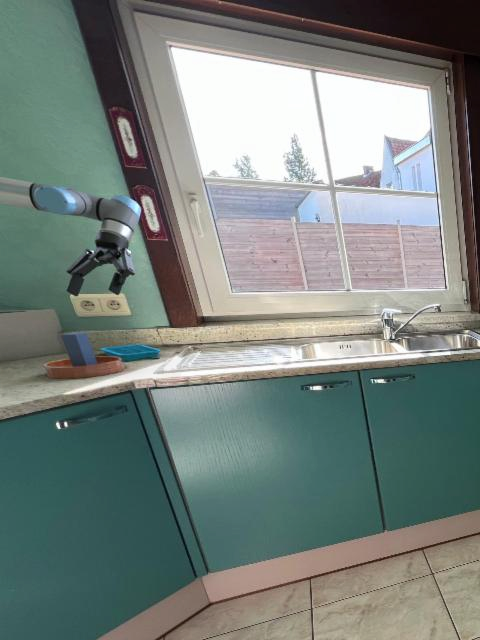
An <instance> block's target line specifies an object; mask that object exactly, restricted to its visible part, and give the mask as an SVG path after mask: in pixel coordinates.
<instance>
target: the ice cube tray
mask: <svg viewBox="0 0 480 640" xmlns="http://www.w3.org/2000/svg"><path fill="white" fill-rule="evenodd" d="M99 350H100V351H103V352H104V354H105V356H115V357H120V358H122V361H123V362H134V361H143V360H148V361H149V360H160V352H162V350H161V349H159V348H155V347H151V346H147V345H144V344H128V345H120V346H109V347H102V348H99Z"/></svg>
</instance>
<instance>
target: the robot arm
mask: <svg viewBox="0 0 480 640" xmlns="http://www.w3.org/2000/svg"><path fill="white" fill-rule="evenodd" d="M0 205H4V206H11V207H16V208H23V209H28V210H36V211H41V212H46V213H51V214H54V215H61V216H73V217H83V218H87V219H91V220H95V221H99V222H101V224H100V226H99V228H98V232H97V234H96V237H95V239H94V244H95V247H96V248H95V249H94V250H91V249H89V248H85V249H84V251H83V253H82V254H81V255H80V256H79V257H78V258H77V259H76V260H75V262H73V263H72V264H71V266H70V267H68V268H67V269H66V273H67V274H69V275H70V276H71V277H70V280H69V281H68V282H69V283H68V286H67V288H66V292H67V293H69V294H70V295H72V296H73V297H78V296H79V294H80V291H81V289H82V286H83V284H84V282H85V278H84V277H86V276H87V275H89V274H90V273H91V272H92V271H94V270H96V269H97V268H98V267H103V266H104V265H113V266H114V268H115V271H116V272H114V274H113V276H112V278H111V281H110V283H109V287H108V289H107V290H108V291H110V292H111V293H113V294H114V295H116V296H120V293H121V291H122V288H123V285H125V282H126V280H127V278H128V277H130V276H135V275H136V272H135V267H134V263H133V258H132V257H133V252H132V251H131V250H129V247H130V244H131V241H132V238H133V235H134V233H135V230H136V228H137V226H138V224H139V221H140V217H141V213H142V207H141V206H140V204H138V202H137V201H135V200H133V199H132V198H130V197H129V196H126V195H124V194H123V195H122V194H114V195H112V197H111V198H104V197H100V196H97V195H94V194H91V193H87V192H84V191H81V190H78V189H75V188H71V187H66V186H54V185H48V184H42V183H35V182H32V181H25V180H20V179H14V178H9V177H3V176H0Z"/></svg>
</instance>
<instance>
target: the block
mask: <svg viewBox="0 0 480 640" xmlns="http://www.w3.org/2000/svg"><path fill="white" fill-rule="evenodd" d="M60 337H61V339H62V342H63V345H64V348H65V350H66V353H67V356H68V359H70V361H71V363H72V366H73V367H77V366H88V365H97V361H96V358H95V353H94V351H93V347H92V344H91V342H90V339H89V336H88V334H87V332H67V333H61V334H60Z"/></svg>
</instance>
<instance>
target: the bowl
mask: <svg viewBox="0 0 480 640" xmlns="http://www.w3.org/2000/svg"><path fill="white" fill-rule="evenodd" d="M94 356H95V355H94ZM95 358H96V361H97V365H88V366H77V367H73V366H72V363H71V361H70V358H65V359H59V360H53V361H50V362H46V363H44V364H43V365H42V366H43V368H44V371H45V374H46V375H47V377H48V378H49V379H58V380H59V379H61V380H71V379H85V378H93V377H100V376H102V377H103V376H108V375H113V374H116V373H120V372H123V371H125V369H126V366H125V364H124V361H122V358H120V357H115V356H109V355H96V356H95Z"/></svg>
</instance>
